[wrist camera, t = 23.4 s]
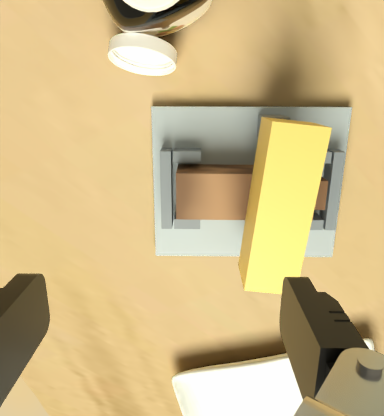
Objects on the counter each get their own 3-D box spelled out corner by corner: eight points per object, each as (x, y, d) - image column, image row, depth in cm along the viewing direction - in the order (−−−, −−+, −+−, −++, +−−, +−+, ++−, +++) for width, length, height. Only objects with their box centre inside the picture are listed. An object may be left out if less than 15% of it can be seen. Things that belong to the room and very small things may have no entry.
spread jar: (196, -64, 36) (196, -132, 25) (229, 53, 40) (241, 38, 28) (86, -19, 38) (39, -65, 27) (126, 90, 41) (100, 89, 30)
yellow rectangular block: (238, 264, 40) (244, 290, 35) (261, 116, 35) (272, 121, 30) (282, 269, 40) (295, 295, 35) (312, 122, 36) (332, 127, 30)
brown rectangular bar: (178, 205, 44) (176, 219, 39) (178, 164, 42) (175, 173, 37) (312, 206, 43) (326, 220, 39) (317, 165, 42) (332, 174, 37)
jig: (156, 251, 47) (151, 273, 41) (152, 106, 41) (145, 108, 36) (328, 253, 46) (347, 275, 41) (347, 106, 41) (372, 109, 35)
